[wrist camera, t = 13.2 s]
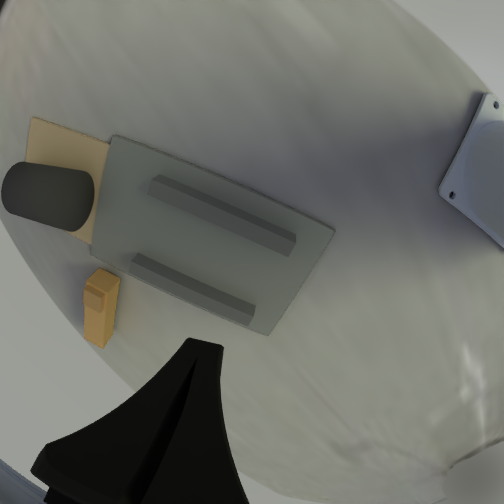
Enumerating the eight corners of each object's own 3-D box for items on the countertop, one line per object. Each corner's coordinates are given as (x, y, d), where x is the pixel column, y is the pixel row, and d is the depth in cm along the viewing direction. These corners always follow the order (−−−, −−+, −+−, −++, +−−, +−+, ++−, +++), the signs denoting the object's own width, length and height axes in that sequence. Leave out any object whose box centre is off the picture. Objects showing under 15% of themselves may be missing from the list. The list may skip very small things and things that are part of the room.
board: (334, 228, 18) (337, 240, 16) (268, 332, 22) (266, 347, 21) (35, 107, 16) (21, 110, 14) (24, 213, 20) (12, 220, 19)
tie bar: (120, 278, 21) (103, 297, 19) (112, 334, 24) (99, 353, 22) (99, 267, 21) (81, 285, 19) (94, 324, 24) (81, 342, 22)
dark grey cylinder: (98, 169, 18) (62, 172, 14) (91, 225, 19) (57, 238, 15) (31, 159, 18) (-4, 162, 14) (27, 207, 19) (-7, 216, 15)
